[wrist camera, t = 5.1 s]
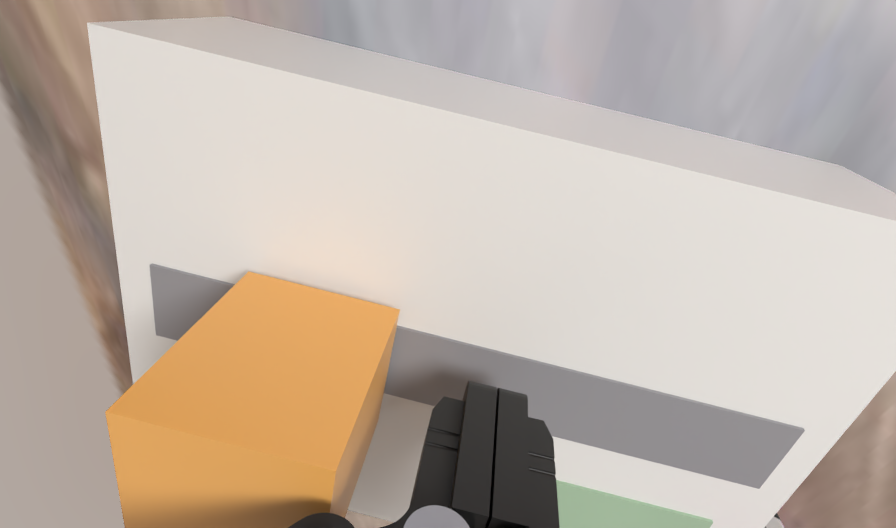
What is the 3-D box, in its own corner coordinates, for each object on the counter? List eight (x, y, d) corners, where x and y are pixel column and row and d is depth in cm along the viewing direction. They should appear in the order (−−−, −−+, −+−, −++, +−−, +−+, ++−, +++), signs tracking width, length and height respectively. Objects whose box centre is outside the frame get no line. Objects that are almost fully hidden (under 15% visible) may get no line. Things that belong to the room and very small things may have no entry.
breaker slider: (248, 271, 13) (104, 411, 8) (400, 309, 13) (336, 471, 8) (246, 386, 15) (128, 550, 10) (378, 420, 15) (316, 600, 10)
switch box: (229, 16, 16) (83, 23, 11) (839, 165, 16) (1004, 248, 10) (230, 351, 23) (140, 459, 17) (659, 461, 22) (702, 605, 17)
